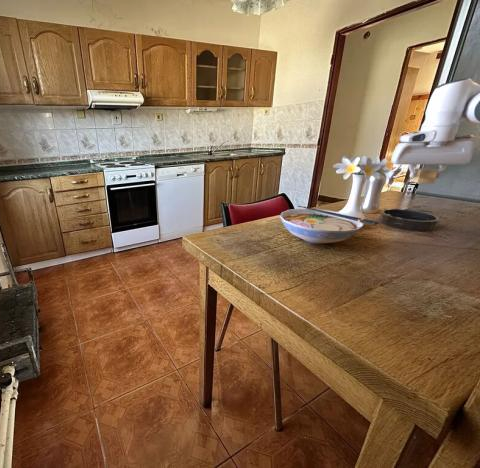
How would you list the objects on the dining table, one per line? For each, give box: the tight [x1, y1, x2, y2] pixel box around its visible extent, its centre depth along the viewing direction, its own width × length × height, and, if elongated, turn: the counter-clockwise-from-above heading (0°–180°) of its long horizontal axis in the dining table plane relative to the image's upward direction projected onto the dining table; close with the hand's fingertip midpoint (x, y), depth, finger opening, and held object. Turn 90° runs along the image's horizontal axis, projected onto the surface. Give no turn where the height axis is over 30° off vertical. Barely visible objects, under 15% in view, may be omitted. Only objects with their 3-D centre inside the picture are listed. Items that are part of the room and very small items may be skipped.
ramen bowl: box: [279, 205, 380, 245], centre depth 82 cm, size 25×23×8 cm
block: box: [411, 167, 438, 185], centre depth 90 cm, size 4×4×4 cm
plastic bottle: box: [360, 165, 387, 214], centre depth 105 cm, size 6×7×20 cm
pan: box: [378, 208, 440, 232], centre depth 93 cm, size 16×16×4 cm
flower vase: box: [332, 154, 403, 225], centre depth 88 cm, size 13×18×25 cm
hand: (423, 177), depth 90 cm, fingers closed on block, 4 cm apart
